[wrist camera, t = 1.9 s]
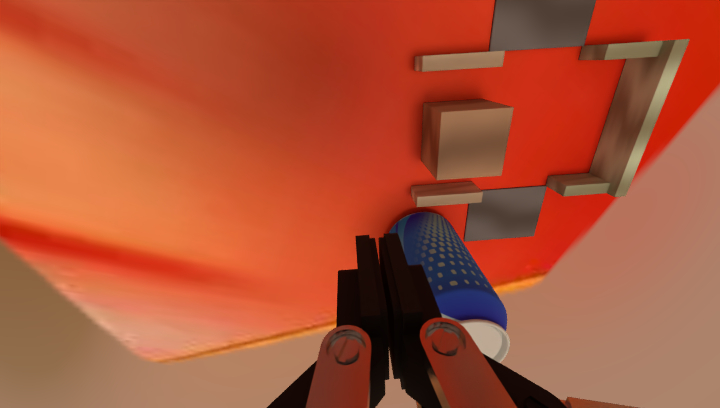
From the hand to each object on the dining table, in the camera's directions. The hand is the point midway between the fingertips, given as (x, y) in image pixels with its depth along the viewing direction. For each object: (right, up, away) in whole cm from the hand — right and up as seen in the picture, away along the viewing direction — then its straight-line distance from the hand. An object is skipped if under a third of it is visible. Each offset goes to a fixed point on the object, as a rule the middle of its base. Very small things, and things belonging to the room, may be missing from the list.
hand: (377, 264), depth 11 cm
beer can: (+7, -1, +25) cm, 25 cm away
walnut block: (+9, +10, +19) cm, 23 cm away
